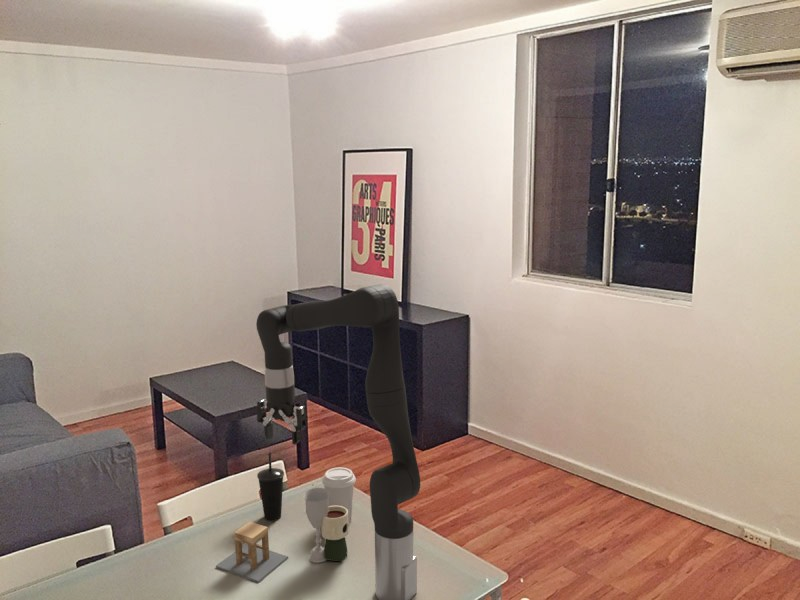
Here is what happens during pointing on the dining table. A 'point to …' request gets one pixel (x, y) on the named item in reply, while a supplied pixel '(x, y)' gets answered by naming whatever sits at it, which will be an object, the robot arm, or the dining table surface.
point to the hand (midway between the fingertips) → (282, 440)
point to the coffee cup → (340, 488)
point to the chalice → (317, 517)
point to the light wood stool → (251, 543)
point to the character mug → (335, 533)
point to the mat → (245, 568)
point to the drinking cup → (271, 491)
